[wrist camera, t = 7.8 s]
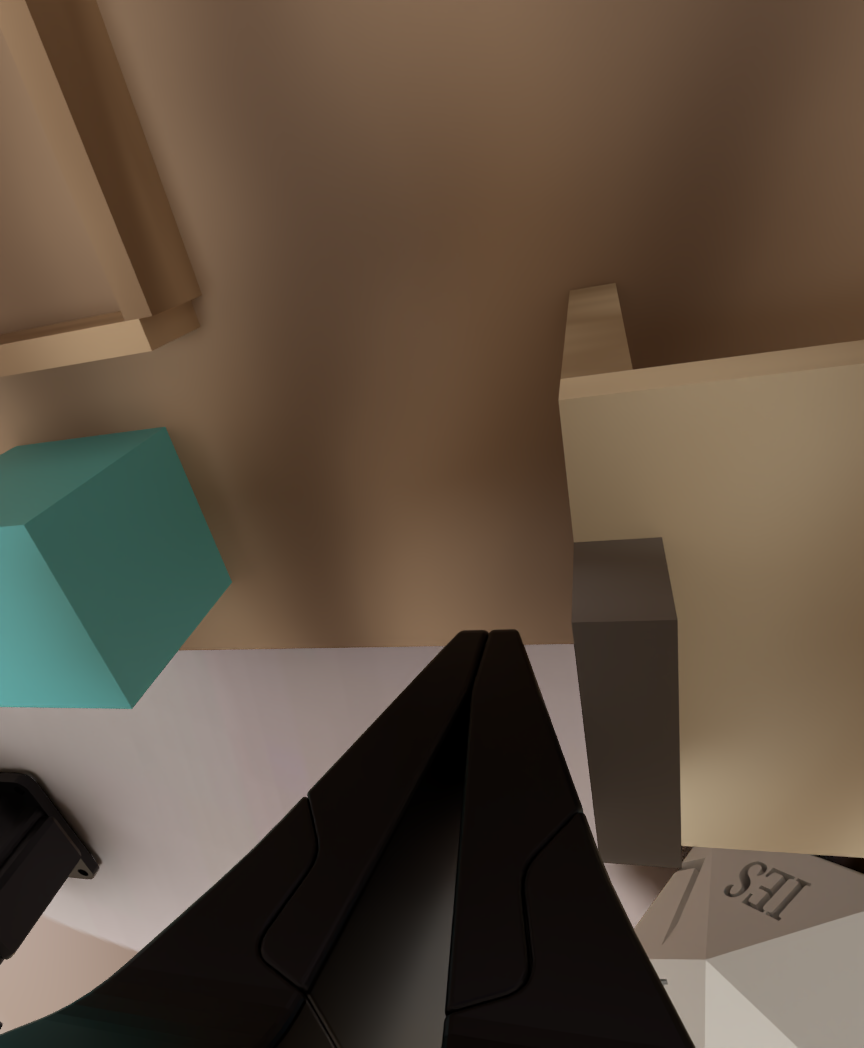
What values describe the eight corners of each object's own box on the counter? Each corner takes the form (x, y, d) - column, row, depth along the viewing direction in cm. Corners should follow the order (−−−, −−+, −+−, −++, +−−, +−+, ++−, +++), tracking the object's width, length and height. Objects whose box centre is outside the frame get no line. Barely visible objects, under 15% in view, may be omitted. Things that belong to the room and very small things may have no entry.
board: (23, 640, 21) (-36, 693, 19) (-401, -5, 13) (-581, -30, 11) (940, 619, 14) (999, 700, 12) (1284, -842, 6) (1646, -1347, 4)
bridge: (599, 619, 15) (609, 937, 9) (569, 290, 12) (551, 460, 6) (946, 609, 13) (1245, 1004, 7) (1040, 211, 10) (1801, 341, 4)
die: (851, 721, 17) (643, 1032, 12) (1183, 1029, 14) (1080, 1582, 9) (690, 787, 24) (515, 1005, 19) (895, 1005, 21) (750, 1322, 16)
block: (95, 588, 18) (-31, 706, 15) (16, 446, 16) (-157, 540, 12) (232, 582, 17) (132, 708, 13) (165, 426, 15) (23, 525, 11)
